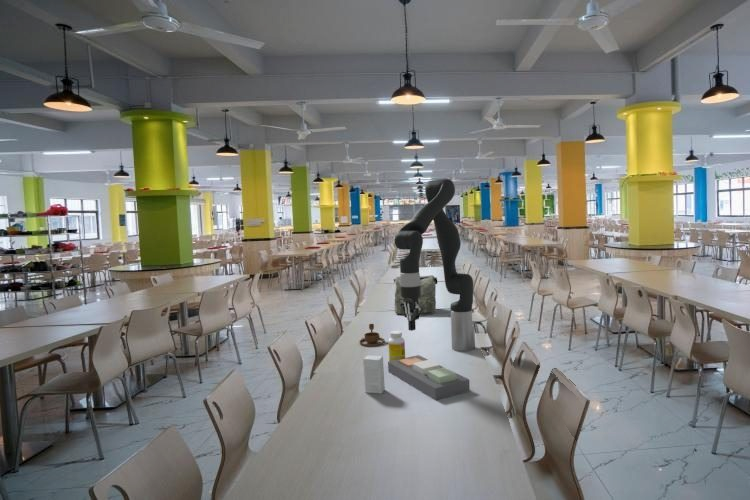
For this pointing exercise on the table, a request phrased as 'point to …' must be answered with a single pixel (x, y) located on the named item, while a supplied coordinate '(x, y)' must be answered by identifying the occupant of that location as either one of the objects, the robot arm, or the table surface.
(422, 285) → the lunch bag
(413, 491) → the table surface
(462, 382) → the keypad
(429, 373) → the sage key
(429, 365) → the grey key
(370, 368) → the skincare box
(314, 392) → the table surface
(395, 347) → the supplement bottle
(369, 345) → the place setting
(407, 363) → the terracotta key
